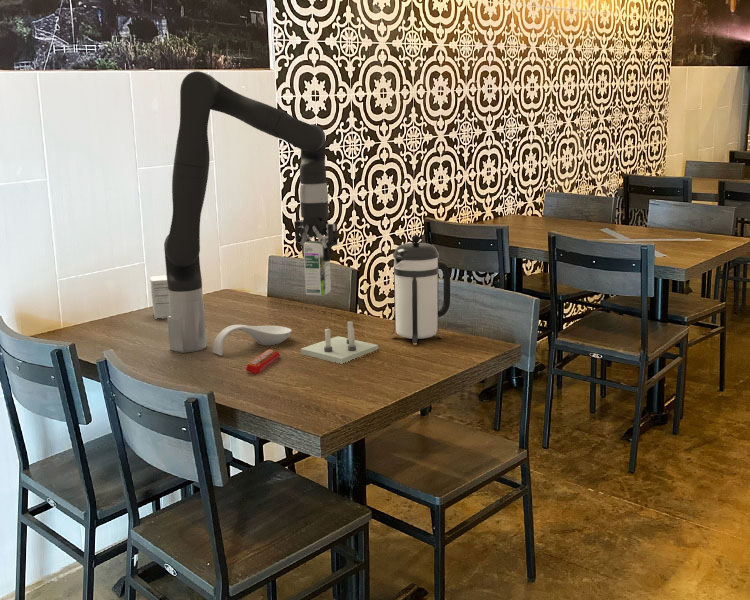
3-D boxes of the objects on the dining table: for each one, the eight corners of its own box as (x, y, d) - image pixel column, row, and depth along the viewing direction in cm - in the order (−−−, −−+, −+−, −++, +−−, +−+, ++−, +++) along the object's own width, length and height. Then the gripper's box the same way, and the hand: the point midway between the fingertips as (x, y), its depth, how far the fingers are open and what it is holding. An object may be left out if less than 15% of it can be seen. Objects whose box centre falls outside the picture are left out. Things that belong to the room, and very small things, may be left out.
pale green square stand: (341, 364, 215) (340, 336, 213) (300, 354, 224) (299, 327, 222) (378, 350, 226) (378, 323, 224) (338, 341, 235) (337, 315, 233)
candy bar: (257, 377, 207) (256, 365, 206) (244, 375, 208) (243, 364, 207) (282, 358, 222) (281, 347, 221) (269, 357, 223) (269, 346, 222)
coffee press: (443, 347, 227) (443, 239, 220) (386, 345, 230) (384, 239, 223) (450, 330, 244) (450, 229, 237) (397, 328, 247) (395, 229, 240)
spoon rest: (277, 334, 244) (275, 311, 243) (300, 342, 236) (299, 318, 234) (206, 351, 229) (204, 326, 228) (228, 360, 221) (226, 334, 219)
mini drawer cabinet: (153, 314, 270) (149, 276, 267) (176, 311, 272) (173, 274, 269) (154, 319, 263) (150, 280, 260) (177, 317, 265) (174, 278, 262)
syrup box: (305, 295, 227) (302, 243, 224) (312, 290, 233) (310, 239, 229) (324, 296, 226) (322, 243, 222) (331, 291, 231) (329, 240, 228)
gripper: (285, 200, 225) (288, 259, 229) (324, 203, 216) (327, 264, 220) (304, 197, 230) (307, 255, 234) (343, 199, 222) (345, 260, 226)
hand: (317, 259), depth 227 cm, fingers closed on syrup box, 7 cm apart
